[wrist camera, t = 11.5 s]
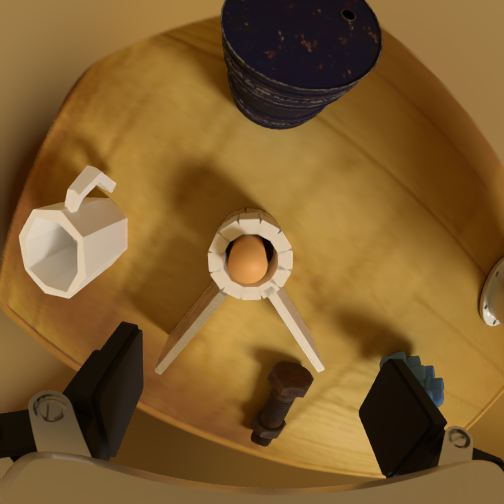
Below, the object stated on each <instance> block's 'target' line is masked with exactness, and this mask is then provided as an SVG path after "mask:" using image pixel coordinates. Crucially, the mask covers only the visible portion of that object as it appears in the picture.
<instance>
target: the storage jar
mask: <svg viewBox="0 0 504 504" xmlns="http://www.w3.org/2000/svg"><path fill="white" fill-rule="evenodd" d="M221 28H222V45H223V51H224V59H225V62H226V65H227V68H228V82H229V86H230V89H231V93H232V95H233V98H234V101H235V103H236V105H237V107H238V108H239V110H240V111H241V112H242V113H243V115H244V116H245V117H247V118H248V119H249V120H251V121H252V122H254V123H256V124H257V125H260V126H262V127H265V128H270V129H278V130H281V129H290V128H294V127H297V126H300V125H302V124H303V123H305V122H307V121H308V120H310V119H312V118H313V117H315V116H316V115H317V114H319V113H320V112H321V111H322V110H323V109H324V108H325V107H326V105H328V104H330V103H332V102H334V101H336V100H337V99H338V98H340V97H341V96H342V95H344V94H345V93H346V92H348V91H349V90H350V89H352V88H353V87H354V86H355V85H356V84H357V83H358V82H359V81H360V80H361V79H363V78H364V77H365V76H367V75H368V74H369V73H370V72H371V71H372V70H373V69H374V67H375V66H376V64H377V62H378V60H379V58H380V55H381V52H382V44H383V39H382V31H381V28H380V24H379V21H378V19H377V17H376V15H375V13H374V12H373V10H372V9H371V7H370V6H369V5H368V3H367V2H366V1H365V0H225V1H224V4H223V7H222V10H221Z"/></svg>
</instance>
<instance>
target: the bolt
mask: <svg viewBox="0 0 504 504" xmlns="http://www.w3.org/2000/svg"><path fill="white" fill-rule="evenodd" d="M313 380H314V379H313V377H312V375H311V373H310V372H309V371H308V370H307V369H306V368H304V367H303V366H301V365H299V364H296V363H290V362H280V363H278V364H277V365H276V366H275V367H274V368H273V369H272V371H271V372H270V374H269V377H268V381H269V382H270V383H271V384H272V385H273V390H272V392H271V394H270V397H269V399H268V401H267V403H266V405H265V407H264V410H262V411H260V412H259V413H258V414H257V415H256V416H255V418H254V419H253V421H252V423H251V426H252V428H253V433H252V434H251V441H252V442H253V443H256V444H258V445H261V446H265V447H266V446H268V445H269V443H270V442H271V440H272V439H274V438H277V437H278V436H279V434H280V433H281V431H282V430H283V428H284V427H285V425H286V422H285V420H284V418H285V416H286V415H287V413H288V411H289V409H290V407H291V405H292V403H293V402H294V400H295V398H296V397H304V396H305V394H306V392H307V391H308V389H309V387H310V386H311V384H312V382H313Z"/></svg>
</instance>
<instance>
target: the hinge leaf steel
mask: <svg viewBox="0 0 504 504" xmlns="http://www.w3.org/2000/svg"><path fill="white" fill-rule="evenodd" d="M242 213H258V216H259V215H260V214H262V215H264V216H265V217H267V218H269V219H271V220H273V221H275V222H276V224H278V223H277V221H276V220H275V219H274V218H272V217H271V216H270V215H269V214H267V213H266V212H265V211H262V210H260V209H253V208H246V211H245V209H244V208H242V209H240V210H237V211H235V212H232V213H230V214H229V215H227V217H226V218H225V219H224V221H223V222H222V223H221V224H220V226H222V224H223V223H224V222H226V221H227V220H229V219H231V218H232V217H234V216H236V215H237V214H238V216H239V217H240V214H242ZM220 226H219V227H218V229H217V231H216V233H215V235H216V234H217V232H218V230H219V228H220ZM278 226H279V224H278ZM279 227H280V226H279ZM280 229H281V227H280ZM281 230H282V229H281ZM214 237H215V236H214ZM230 253H231V251H230V248H229V246H227V248H226V258H227V259H228V260H229V256H230ZM273 256H274V246H273V244H272V243H271V242H270V248H269V250H268V251H267V252H266V258H267V264H268V265H269V263H270V262H271V260H272V258H273ZM268 265H267V267H268ZM226 297H227V293H225V292H223V288H222V289H221V290H220V288H219V287H218V285H217V284H216V282H215V281H214V279H213V280H212V282H211V283H210V284H209V285H208V287H207V288H206V289H205V290H204V292H203V293H202V294H201V295H200V297H199V298H198V299H197V300H196V302H195V303H194V304H193V305H192V307H191V308H190V309H189V310H188V312H187V313H186V314H185V315H184V317H183V318H182V319H181V320H180V322H179V323H178V324H177V326H176V327H175V328H174V329H173V331H172V332H171V333H170V334H169V336H168V338H167V341H166V343H165V346H164V348H163V350H162V353H161V355H160V357H159V360H158V362H157V365H156V367H155V369H154V371H155V372H156V373H158V374H159V375H161V374H162V373H163V371H164V370H165V369H166V368H167V367H168V366H169V364H170V363H171V362H172V361H173V360H174V359H175V357H176V356H177V355H178V354H179V353H180V352H181V350H182V349H183V348H184V347H185V346H186V345H187V343H188V342H189V341H190V340H191V339H192V338H193V336H194V335H195V334H196V333H197V332H198V331H199V329H200V328H201V327H202V326H203V325H204V323H205V322H206V321H207V320H208V319H209V318H210V316H211V315H212V314H213V313H214V312H215V310H216V309H217V308H218V307H219V306H220V305H221V303H222V302H223V301H224V300H225V299H226Z"/></svg>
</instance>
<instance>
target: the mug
mask: <svg viewBox="0 0 504 504" xmlns="http://www.w3.org/2000/svg"><path fill="white" fill-rule="evenodd" d="M96 185H97V186H99V187H101V188H102V189H104V190H106V191H109V192H111V193H112V191H113V189H114V188H115V186H116V183H115V182H114V181H112V180H111V179H110V178H109V177H108V176H106V175H105V174H104V173H103V172H101V171H100V170H99V169H97V168H96V167H92V166H89V165H87V166H86V167H85V169H84V170H83V171H82V172H81V173H80V175H79V176H78V177H77V178H76V180H75V181H74V182H73V183H72V184H71V186H70V187H69V188H68V190H67V195H66V200H65V202H61V203H57V204H53V205H49V206H44V207H41V208H37V209H33V211H32V213H31V214H30V216H29V218H28V220H27V222H26V224H25V225H24V227H23V229H22V231H21V233H20V235H19V240H20V246H21V251H22V256H23V261H24V266H25V270H26V271H27V272H28V274H29V275H30V276H31V277H32V278H33V280H34V281H35V282H36V283H37V284H38V286H39V287H40V288H41V289H42V290H43V291H44V292H45V293H47V294H51V295H56V296H60V297H65V298H69V299H70V298H71V297H72V296H73V295H74V294H76V293H77V292H78V291H79V290H80V289H82V288H83V287H84V286H85V285H87V284H88V283H89V282H90V281H92V280H93V279H94V278H95V277H97V276H98V275H99V274H101V273H102V272H103V271H104V270H106V269H107V268H108V267H110V266H111V265H112V264H113V263H114V262H115V261H116V260H117V259H118V257H119V256H120V255H121V254H122V253H123V252H124V251H125V250H126V249H127V217H126V216H125V215H124V214H123V212H122V211H121V210H120V209H119V208H118V207H117V206H116V205H115V203H114V202H113V201H112V200H111V199H110V198H96V197H85V196H86V195H87V194H88V193H89V192H90V191H91V190H92V189H93V188H94V187H95V186H96Z"/></svg>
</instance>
